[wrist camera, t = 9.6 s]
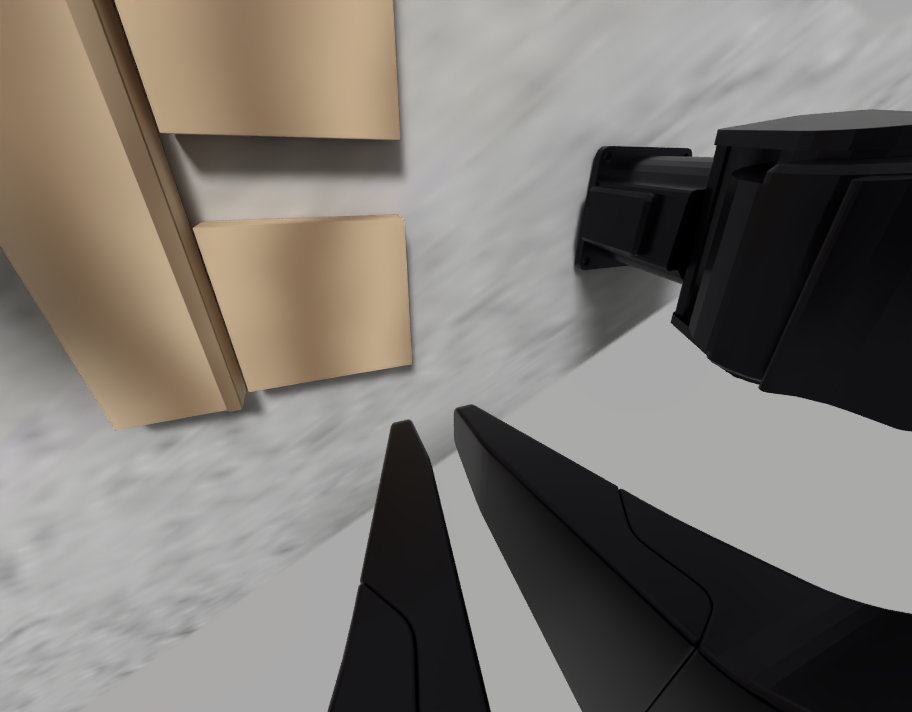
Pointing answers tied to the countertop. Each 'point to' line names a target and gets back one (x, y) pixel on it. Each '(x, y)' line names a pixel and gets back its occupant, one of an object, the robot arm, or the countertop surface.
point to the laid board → (104, 219)
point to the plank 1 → (267, 66)
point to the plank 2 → (310, 295)
